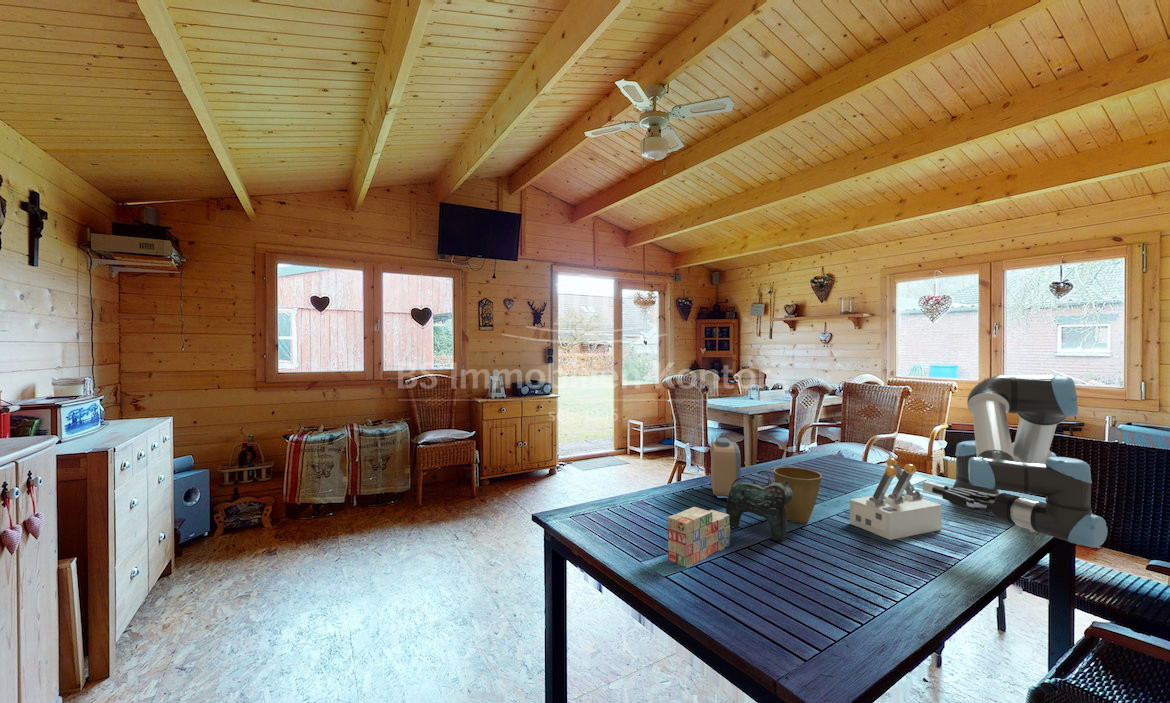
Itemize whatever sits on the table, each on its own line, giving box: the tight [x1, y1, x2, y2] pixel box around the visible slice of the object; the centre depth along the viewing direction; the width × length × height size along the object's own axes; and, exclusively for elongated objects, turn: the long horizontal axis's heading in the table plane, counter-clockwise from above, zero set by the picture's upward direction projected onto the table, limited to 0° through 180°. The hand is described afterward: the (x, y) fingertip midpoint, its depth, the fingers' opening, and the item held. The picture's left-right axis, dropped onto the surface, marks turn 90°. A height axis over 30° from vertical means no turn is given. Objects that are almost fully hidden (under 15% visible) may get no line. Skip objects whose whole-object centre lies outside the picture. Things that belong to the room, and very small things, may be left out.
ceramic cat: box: [725, 470, 792, 542], centre depth 146 cm, size 20×6×20 cm, turn 47°
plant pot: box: [772, 466, 823, 524], centre depth 158 cm, size 15×15×16 cm
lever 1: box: [869, 465, 897, 504], centre depth 146 cm, size 3×3×14 cm
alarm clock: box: [710, 437, 742, 497], centre depth 185 cm, size 21×10×22 cm, turn 168°
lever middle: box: [888, 463, 917, 501], centre depth 149 cm, size 3×3×14 cm
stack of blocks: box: [667, 506, 731, 569], centre depth 132 cm, size 21×6×12 cm, turn 131°
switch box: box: [849, 492, 943, 541], centre depth 151 cm, size 24×14×10 cm, turn 110°
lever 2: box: [885, 457, 921, 498], centre depth 158 cm, size 3×3×14 cm
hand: (924, 485), depth 142 cm, fingers closed
